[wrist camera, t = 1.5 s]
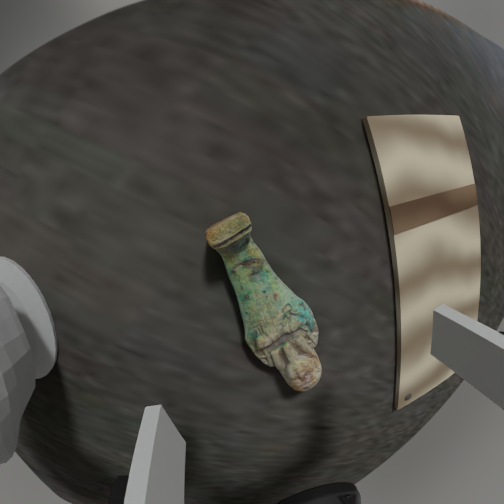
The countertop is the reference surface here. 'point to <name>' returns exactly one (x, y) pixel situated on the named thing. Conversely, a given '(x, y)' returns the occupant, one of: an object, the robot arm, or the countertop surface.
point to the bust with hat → (21, 348)
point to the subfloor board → (426, 234)
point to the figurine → (267, 306)
